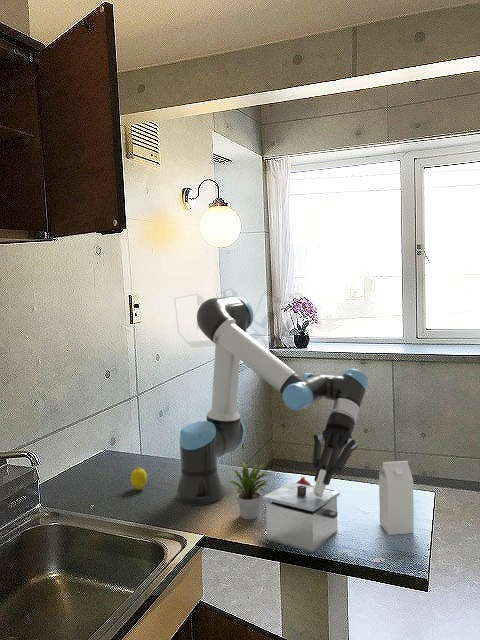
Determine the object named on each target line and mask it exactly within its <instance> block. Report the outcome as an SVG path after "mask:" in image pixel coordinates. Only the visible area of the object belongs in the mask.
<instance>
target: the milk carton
mask: <svg viewBox="0 0 480 640" xmlns="http://www.w3.org/2000/svg"><path fill="white" fill-rule="evenodd" d="M378 487H379V488H378V491H379V492H378V494H379V495H378V496H379V498H378V499H379V501H378V502H379V504H378V505H379V524H380V526H381V527H382V528H383V530H384V531H385V532H386V533H387V535H388V536H392V535H395V536H396V535H405V534H406V535H407V534H414V532H415V531H414V530H415V523H414V522H415V520H414V519H415V517H414V516H415V515H414V513H415V512H414V478H413V476H412V472H411V469H410V466H409V461H408V460H399V461H385V462H384V461H383V462H382V467H381V468H380V470H379V472H378Z"/></svg>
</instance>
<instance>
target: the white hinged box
mask: <svg viewBox="0 0 480 640" xmlns="http://www.w3.org/2000/svg"><path fill="white" fill-rule="evenodd" d="M265 509H266V513H265V515H266V540H267V541H271V542H274V543H276V544H281V545H285V546H288V547H291V548H295V549H297V550H298V549H299V550H302V551H304V552H305V551H306V552H308V553H312V554H314V553H315V552H317V550H318V549H320V548H321V547H322V546H323V545H324V544H325V543H327V542H328V541H329V540H330V539H331V538H333V536H334V535H335V534H337V533H338V516H339V515H338V496H337V497H336V498H334V499H333V500H331V501H329V502H328V503H326V504H325V505H323V506H321V507H320V508H318V509H317V510H315V511H309V510H305V509H301V508H297V507H293V506H288V505H284V504H280V503H276V502H272V501H267V503H266V504H265Z"/></svg>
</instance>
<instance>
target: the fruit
mask: <svg viewBox="0 0 480 640" xmlns="http://www.w3.org/2000/svg"><path fill="white" fill-rule="evenodd" d="M130 475H131V476H130V483H131V485H132V486H133V487H134V488H136V489H137V490H138V491H139V490H142V488H143V487H144V486H146V484H147V481H148V474H147V472H146V471H145V469H143V468H141V467H140V466H137V468H135V469H133V471H132V472H131V474H130Z"/></svg>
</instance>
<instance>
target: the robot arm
mask: <svg viewBox="0 0 480 640" xmlns="http://www.w3.org/2000/svg"><path fill="white" fill-rule="evenodd" d="M196 321H197V326H198V328H199V329H200V331H201V332H202V333H203V335H205V337H206V338H208V339H209V341H211V342H212V343H214V344H215V347H214V361H213V362H214V364H213V365H214V366H213V378H212V396H211V397H212V399H211V400H212V401H211V409H210V410H209V411H207V413H206V421H205V420H200V421H196V422H191V423H188V424H186V425H185V426H183V427H182V429H181V430H180V433H179V450H180V466H181V468H180V469H181V475H180V479H179V483H178V487H177V490H176V497H177V500H178V501H179V502H180V503H181V504H185V505H189V506H190V505H191V506H205V505H208V504H213V503H216V502H219V501H220V500H222V499H223V497H224V494H225V493H224V486H223V485H222V482H221V479H220V475H219V474H218V458H220V457H222V456H224V455H226V454H228V453H230V452H233V451H235V450H237V448H239V447H240V446H241V445H242V444H243V442H244V441H245V438H246V437H245V436H246V426H245V424H243V421H242V419H241V413H239V412H238V410H237V409H238V408H237V407H238V393H239V378H240V376H239V375H240V366H241V365H240V362H242V363H243V364H244V365H246V367H248V368H249V369H251V370H252V371H253V372H254V373H255V374H257V375H258V376H259V377H260V378H261V379H263V380H264V381H265V382H266V383H268V384H269V385H270V386H271V387H272V388H274V389H275V390H276V391H277V392H278V393H280V394H281V395H282V401H283V402H284V405H285V406H286V407H287V408H288V409H290V410H293V411H300V410H303V409H307V408H309V407H310V406H311V405H313V404H316V403H319V402H320V401H322V400H327V401H328V400H329V401H334V402H333V404H332V407H331V410H330V414H329V416H328V418H327V421H326V424H325V425H326V426H325V428H324V430H323V431H322V433H320V434H319V435H317V433H316V434H314V435H313V436H312V437H313V441H314V444H313V454H312V461H311V465H312V467H313V468H314V470H316V473H315V476H314V479H313V480H314V482H315V484H314V486H315V487H314V490H313V492H314V494H315V495H316V496H318V497H322V496H323V493H324V490H325V489H326V487H327V486H329V485H330V483H331V479H332V476H333V475H335V474H338V475H339V474H340V473H341V472H342V471H343V468H344V467H345V465H346V463H347V462H348V460H349V458H350V457H351V455H352V454H353V452H354V451H355V450H356V449H357V448H358V444H357V442H356V440H355V439H353V438H352V434H353V432H354V427H355V425H356V421H357V419H358V416H359V412H360V409H361V405H362V402H363V399H364V397H365V394H366V392H367V386H368V382H369V381H368V377H367V376H368V375H366V374H365V373H364V372H363V371H362V370H359V369H358V368H348V369H345V371H344V372H343V373H342V375H331V374H327V373H326V374H323V373H318V372H306V373H303V375H302V376H300V375H299V374H298V373H297V372H296V371H294V370H293V369H292V368H290V366H288V365H287V364H285V363H284V362H283V361H282V360H280V359H279V358H278V357H277V356H275V354H273V353H272V352H270V351H269V350H268V349H267V348H266V347H264V346H263V345H262V344H261V343H259V342H258V341H257V340H256V339H254V338H253V337H252V336H250V334H248V333H247V329H249V327H251V325H252V324H253V321H254V310H253V308H252V306H251V304H250V302H249V301H247V299H245V298H242V297H240V296H234V295H232V296H230V295H229V296H224V297H213V298H212V297H211V298H209V299H206V300H205V301H203V302H202V304H201V305H200V306H199V308H198V310H197V312H196ZM323 441H324V445H323V450H322V444H323ZM343 447H344V448H343Z"/></svg>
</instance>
